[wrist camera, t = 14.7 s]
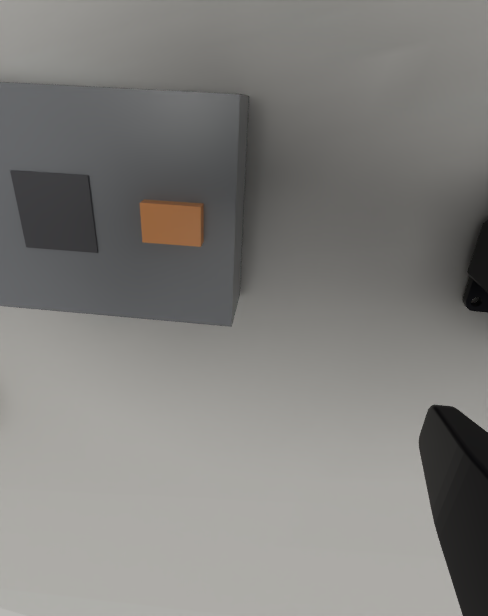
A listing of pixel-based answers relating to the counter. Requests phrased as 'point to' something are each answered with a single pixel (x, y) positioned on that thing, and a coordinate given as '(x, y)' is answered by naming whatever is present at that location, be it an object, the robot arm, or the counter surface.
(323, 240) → the counter surface
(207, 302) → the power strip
